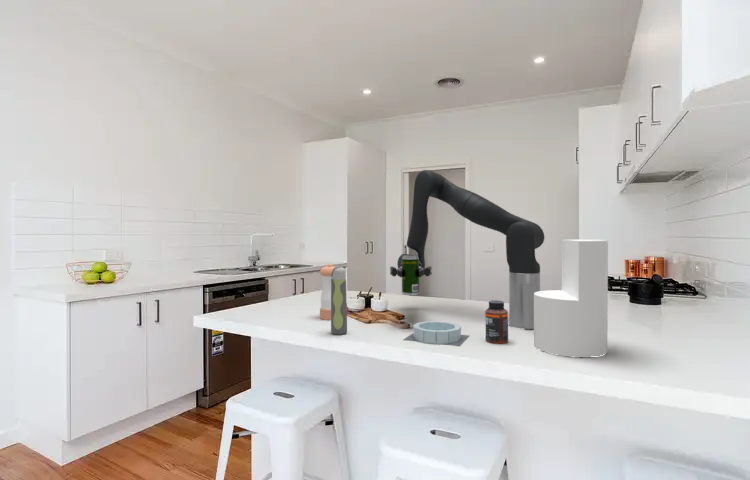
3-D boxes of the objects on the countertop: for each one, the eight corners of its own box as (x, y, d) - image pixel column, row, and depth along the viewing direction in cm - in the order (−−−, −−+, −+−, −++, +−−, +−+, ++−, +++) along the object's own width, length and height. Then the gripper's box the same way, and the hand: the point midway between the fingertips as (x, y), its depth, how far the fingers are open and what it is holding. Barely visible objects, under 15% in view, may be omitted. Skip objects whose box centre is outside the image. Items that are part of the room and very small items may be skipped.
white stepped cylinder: (595, 340, 115) (595, 239, 114) (618, 360, 98) (618, 241, 98) (529, 338, 119) (529, 239, 118) (540, 356, 102) (540, 241, 101)
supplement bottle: (508, 340, 116) (508, 300, 116) (507, 346, 110) (507, 303, 110) (486, 339, 118) (486, 299, 118) (484, 344, 112) (484, 302, 112)
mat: (469, 336, 120) (469, 335, 120) (459, 347, 110) (459, 346, 110) (417, 331, 127) (417, 330, 127) (402, 341, 116) (402, 339, 116)
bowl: (465, 334, 121) (465, 323, 121) (453, 346, 110) (453, 333, 110) (422, 330, 127) (422, 319, 127) (407, 340, 115) (407, 329, 115)
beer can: (423, 294, 130) (422, 255, 129) (410, 296, 126) (410, 256, 126) (410, 292, 134) (410, 254, 134) (398, 294, 131) (398, 255, 130)
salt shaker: (315, 318, 148) (315, 264, 148) (330, 315, 154) (330, 262, 153) (329, 321, 143) (329, 265, 143) (344, 317, 149) (344, 263, 148)
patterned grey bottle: (346, 335, 124) (345, 267, 123) (329, 335, 124) (329, 267, 123) (348, 331, 128) (347, 266, 128) (332, 331, 129) (331, 266, 128)
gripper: (390, 257, 145) (386, 261, 128) (431, 257, 143) (434, 261, 127) (390, 279, 145) (387, 286, 128) (432, 279, 144) (434, 286, 127)
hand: (410, 273), depth 127 cm, fingers closed on beer can, 5 cm apart
